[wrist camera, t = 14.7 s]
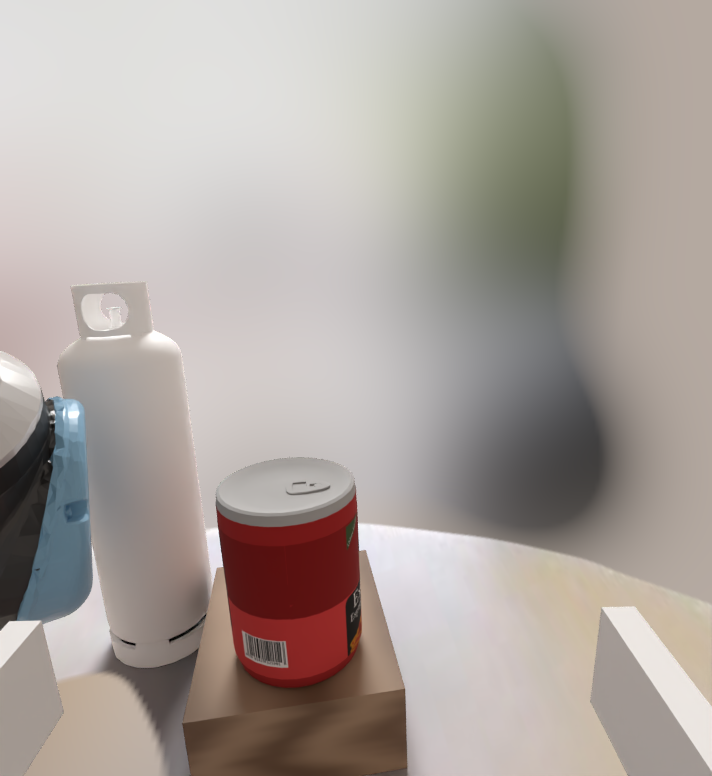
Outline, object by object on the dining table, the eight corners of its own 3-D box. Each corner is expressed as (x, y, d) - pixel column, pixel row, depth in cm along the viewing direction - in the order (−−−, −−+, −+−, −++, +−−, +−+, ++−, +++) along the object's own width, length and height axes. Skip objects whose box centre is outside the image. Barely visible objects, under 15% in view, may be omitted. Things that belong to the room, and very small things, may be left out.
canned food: (381, 667, 29) (375, 496, 26) (243, 712, 27) (220, 529, 24) (340, 589, 36) (332, 447, 33) (228, 619, 34) (209, 469, 31)
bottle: (222, 591, 46) (181, 278, 39) (210, 659, 38) (157, 282, 31) (129, 603, 45) (70, 284, 38) (97, 675, 37) (16, 289, 30)
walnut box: (196, 810, 28) (182, 723, 26) (225, 631, 41) (217, 567, 40) (407, 772, 29) (405, 688, 28) (368, 612, 43) (365, 550, 41)
